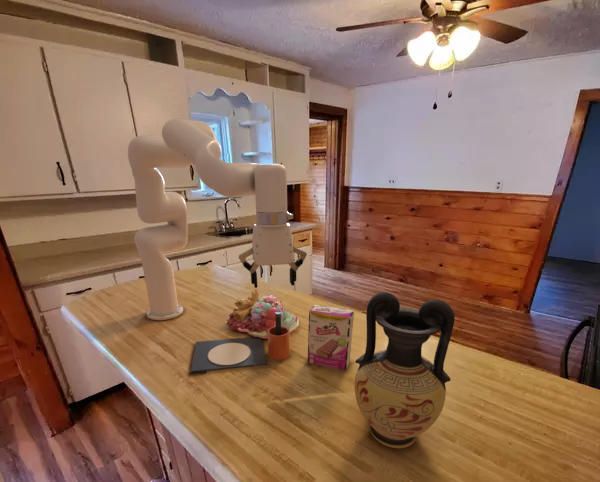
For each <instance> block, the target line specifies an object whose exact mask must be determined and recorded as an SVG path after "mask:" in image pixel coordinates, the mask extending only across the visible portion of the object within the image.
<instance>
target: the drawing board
mask: <svg viewBox="0 0 600 482" xmlns="http://www.w3.org/2000/svg"><path fill="white" fill-rule="evenodd" d="M267 365H268V361H267V357H266V351H265V346H264V342H263V338H260V337H255V336H248V337H236V338H225V339H223V338H222V339H213V340H200V341H195V344H194V351H193V357H192V363H191V369H190V375H197V374H206V373H207V372H211V371H212V372H213V371H221V370H229V369H230V370H231V369H239V368H240V369H241V368H249V367H261V366H267Z"/></svg>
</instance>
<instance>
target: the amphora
mask: <svg viewBox="0 0 600 482" xmlns="http://www.w3.org/2000/svg"><path fill="white" fill-rule="evenodd" d="M365 314H366V318H365V319H366V320H365V321H366V345H365V351H364V354H362V355H360V356H359V357H358V358H357V359H356V360H355V362H354V364H355V363H356V364H358V365H359V366H358V368H357V370H356V374H355V377H354V395H355V400H356V403H357V406H358V409H359V412H360V413H361V415H362V417H363V419H364V420H365V421H366V422H367V424H368V425H369V431H370V433H371V435H372V437H373V438H374V439H375V440H376V441H377V442H379V443H380V444H382V445H384V446H385V447H389V448H393V449H405V448H409V447H410V446H412V445H413V444H414V443H415V441H416V437H417V436H419V435H421V434H423V433H424V432H426V431H427V430H429V429H430V428H431V427H432V426H433V425H434V424H435V423H436V421H437V420H438V418H439V416H440V415H441V413H442V411H443V409H444V406H445V401H446V396H447V395H446V394H447V388H446V383H449V382H451V377H450V376H449V375H448V373H447V372H446V371H445V370H444V368H445V367H444V366H445V360H446V356H447V352H448V349H449V345H450V342H451V338H452V334H453V329H454V327H455V321H456V316H455V312H454V309H452V306H451V305H450V304H448V303H447V302H445V301H443V300H440V299H428V300H427V301H425V302H423V303H422V304H421V305H420V307H419V308H418V309H417V308H412V307H405V306H401V303H400V301H399V299H398V298H397V297H396V296H395V295H394V294H392V293H391V292H388V291H381V292H377V293H375V294H373V296H372V297H371V298H370V299H369V300H368V303H367V306H366V313H365ZM377 324H378V325H379V326H380V327H382V330H383V333H384V335H385V336H386V337H387V338H388V342H387V346H386V349H382V350H379V351H376V343H377ZM439 332H440V333H439ZM437 333H439V339H438V342H437V346H436V350H435V354H434V359H433V362H432V361H430V360H429V359H427V358H426V357H425V356H422V347H423V344H425V343H427V342H428V340H429V339H430V338H431V336H432V335H435V334H437Z"/></svg>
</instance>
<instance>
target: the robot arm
mask: <svg viewBox="0 0 600 482" xmlns="http://www.w3.org/2000/svg"><path fill="white" fill-rule="evenodd" d="M127 146H128V147H127V156H128V157H127V159H128V162H129V166H130V168H131V172H132V175H133V180H134V192H135V199H136V200H135V201H136V211H137V215H138V218H139V220H140V221H141V222H143V223H145V224H158V225H151V226H146V227H143V228H140V229H138V230H137V231H136V233H135V235H134V244H135V247H136V249H137V252H138V255H139V259H140V261H141V266H142V271H143V276H144V281H145V282H144V283H145V286H146V287H145V288H146V292H147V297H148V303H149V304H148V305H149V308H148V310H147V311H146V317H147V318H148V319H149V320H152V321H153V320H154V321H165V320H171V319H176V318H177V317H179V316H181V315H182V314H183V313H184V307H183V306H182V305H180V304H179V303H178V296H177V295H178V294H177V289H176V288H177V287H176V281H175V275H174V268H173V265H172V263H171V261H170V260H169V259H168V258H167V257H166V255H165V254H168V253H172V252H177V251H181V250H183V249H185V247H186V246H187V244H188V240H189V239H188V237H189V235H188V234H189V231H188V229H189V225H188V207H187V204H186V201H185V198H184V197H183V196H182V195H181V194H180V193H178V192H176V191H165V179H164V177H163V175H162V173H161V171H160V170H159V169H158V168H164V169H165V168H166V169H167V168H169V169H170V168H174V169H177V168H179V169H180V168H187V167H190V166H192V165H194V166H195V170H196V173H197V175H198V178H199V179H200V182H201V183H203V184H204V185H205V186H206V187H208V188H209V189H210V190H212V191H214V192H216V193H217V194H218V195H221V196H223V197H227V198H238V197H249V196H254V197H255V216H256V223H254V224H253V226H252V237H251V239H252V241H251V242H252V243H251V245H252V246H251V247H250V248H249V249H247V250H245V251H243V252H242V253H240V254H238V259H239V261H240V263H241V264H242V266H243V267H244V268H245V269H246V270H247V271H248V272H249V273H250V284H251V285H253V286H254V287H253V288H254V289H257V288H258V273H257V270H258V268H260V267H261V266H279V265H280V266H281V265H289V267H290V268H289V283H290V285H291V286H295V282H297V271H298V270H299V268H300V267H301V266H302V265H303V263H304V262H305V260H306V258H307V256H308V253H307V252H306V251H304V250H302V249H300V248H298V247H296V246H294V241H293V233H292V227H291V224H290V223H289V221H290V220H293V219H294V213H293V212H289V211H288V173H287V168H286V166H284V165H283V164H280V163H255V162H254V163H253V162H226V161H225V160H222V159H221V157H222V147H221V144H220V142H219V141H218V140H217V138H216V135H215V131H214V129H213V128H212V127H211V126H210V125H209V124H208V123H207V122H204V121H200V120H195V119H185V118H172V119H169V120H167V121H166V122H165V123H164V125H163V126H162V129H161V135H153V134H151V135H150V134H149V135H148V134H145V135H143V134H142V135H138V136H134V137H133V138H132V139H131V140H130V141H129V143H128V145H127ZM161 223H167V224H161ZM294 254H297V255H299V256H298V258H297V259H296V260H295V262H294ZM250 256H252V260H253V262H252V263H251V264H250V263H249V262H248V261H247V259H246V258H248V257H250Z"/></svg>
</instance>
